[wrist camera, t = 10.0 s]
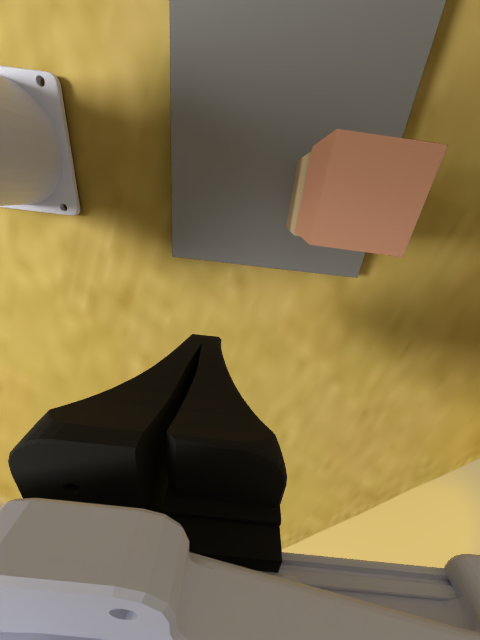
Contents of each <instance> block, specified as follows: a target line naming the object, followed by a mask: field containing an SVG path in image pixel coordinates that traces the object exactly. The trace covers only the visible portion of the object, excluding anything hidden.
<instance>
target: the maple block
mask: <svg viewBox="0 0 480 640" xmlns="http://www.w3.org/2000/svg"><path fill="white" fill-rule="evenodd" d="M310 157H311V152H309V153H308V154H306V155H305V156H303V157H302V158H300V159H299V160H298V161H297V166H296V172H295V178H294V183H293V189H292V195H291V200H290V206H289V212H288V217H287V223H286V228H287V229H288V230H289V231H290V232H291V233H292V234H293V235H294V236H299V235H298V234H297V233H296V232H295V229H296V224H297V219H298V214H299V209H300V205H301V200H302V195H303V190H304V186H305V181H306V176H307V171H308V166H309V162H310Z"/></svg>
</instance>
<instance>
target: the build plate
mask: <svg viewBox="0 0 480 640" xmlns="http://www.w3.org/2000/svg"><path fill="white" fill-rule="evenodd" d="M445 3H446V0H169V7H170V94H171V182H172V257H180V258H189V259H198V260H206V261H215V262H224V263H233V264H241V265H250V266H259V267H267V268H276V269H285V270H294V271H302V272H311V273H320V274H328V275H337V276H346V277H355V278H357V277H358V274H359V271H360V268H361V265H362V262H363V259H364V255H365V252H360V251H352V250H345V249H338V248H330V247H323V246H315V245H309V244H308V243H307V242H306V241H305V240H304V239H303V238H302V237H300V236H294V235H293V234H292V233H291V232H290V231H289V230H288V229H287V228H286V223H287V217H288V212H289V206H290V200H291V195H292V189H293V183H294V178H295V172H296V166H297V161H298V160H299V159H300V158H302V157H303V156H305V155H306V154H308V153H309V152H312V147H313V146H314V145H315V144H317V143H318V142H319V141H321V140H322V139H324V138H325V137H326V136H328V135H329V134H330V133H332V132H333V131H335V130H336V129H342V130H349V131H356V132H363V133H370V134H377V135H384V136H391V137H398V138H402V137H403V134H404V131H405V127H406V124H407V121H408V118H409V115H410V112H411V109H412V106H413V102H414V99H415V96H416V93H417V90H418V87H419V84H420V81H421V77H422V74H423V71H424V68H425V65H426V62H427V59H428V56H429V52H430V49H431V46H432V43H433V40H434V37H435V34H436V31H437V28H438V24H439V21H440V18H441V15H442V12H443V9H444V6H445Z"/></svg>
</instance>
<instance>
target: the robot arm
mask: <svg viewBox="0 0 480 640" xmlns="http://www.w3.org/2000/svg"><path fill="white" fill-rule="evenodd" d="M42 78H44V81H45V85H44V86H43V87H42V85H41V79H42ZM64 204H65V205H66V206H67V211H66V210H65V209H64V207H63V205H64ZM0 207H3V208H11V209H20V210H28V211H37V212H46V213H54V214H63V215H71V216H73V215H78V214H79V213H80V204H79V197H78V191H77V184H76V178H75V172H74V165H73V159H72V153H71V146H70V140H69V134H68V127H67V121H66V115H65V108H64V102H63V96H62V89H61V84H60V81H59V79H58V78H57V77H56V76H55V75H54V74H52V73H50V72H47V71H39V70H31V69H23V68H15V67H7V66H0ZM8 462H9V467H10V471H11V474H12V476H13V478H14V480H15V482H16V484H17V487H18V489H19V491H20V493H21V495H22V497H23V499H14V500H11V501H8V502H6V503H5V504H3V505H2V506H0V640H480V555H472V554H461V555H457V556H454V557H453V558H451V559H450V560H449V561H448V562H447V564H446V565H445V568H434V567H424V566H414V565H404V564H394V563H384V562H374V561H363V560H354V559H343V558H334V557H324V556H314V555H304V554H294V553H284V552H281V540H280V528H279V526H280V524H281V513H280V504H281V500H282V497H283V494H284V490H285V487H286V481H287V474H286V468H285V463H284V459H283V456H282V452H281V449H280V446H279V444H278V441H277V438H276V436H275V434H274V433H273V432H272V431H271V430H270V429H269V428H268V427H267V426H266V425H265V424H264V423H263V422H262V421H260V419H259V418H258V417H257V416H256V415H255V414H254V412H253V411H252V410H251V409H250V407H249V406H248V405H247V403H246V402H245V401H244V399H243V398H242V396H241V395H240V393H239V392H238V390H237V388H236V386H235V385H234V383H233V381H232V379H231V377H230V374H229V372H228V370H227V367H226V364H225V361H224V358H223V355H222V350H221V339H220V338H219V337H214V336H205V335H196V334H192V335H191V336H190V337H189V338H187V339H186V340H185V341H184V342H183V343H182V344H181V345H180V346H179V347H178V348H176V349H175V350H174V351H173V352H172V353H170V354H169V355H168V356H167V357H165V358H164V359H163V360H161V361H160V362H159V363H157V364H156V365H154V366H153V367H151V368H150V369H148V370H147V371H145V372H143V373H142V374H140V375H138V376H136V377H135V378H133V379H131V380H129V381H126V382H124V383H122V384H120V385H118V386H116V387H114V388H112V389H109V390H107V391H105V392H102V393H100V394H97V395H94V396H92V397H89V398H86V399H83V400H80V401H77V402H74V403H71V404H67V405H64V406H61V407H58V408H54V409H50V410H49V411H48V412H47V413H46V414H45V415H44V416H43V417H42V418H41V419H40V420H39V421H38V422H37V423H36V424H35V425H34V427H33V428H32V429H31V430H30V431H29V432H28V433H27V434H26V435H25V436H24V438H23V439H22V440H21V441H20V442H19V443H18V444H17V445H16V446H15V448H14V449H13V450H12V451H11V452H10V455H9V460H8Z"/></svg>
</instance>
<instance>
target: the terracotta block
mask: <svg viewBox="0 0 480 640" xmlns="http://www.w3.org/2000/svg"><path fill="white" fill-rule="evenodd" d="M447 147H448V145H446V144H439V143H432V142H425V141H418V140H411V139H405V138H398V137H391V136H384V135H377V134H370V133H363V132H356V131H349V130H342V129H336V130H335V131H333V132H332V133H330V134H329V135H328V136H326V137H325V138H324V139H322V140H321V141H319V142H318V143H317V144H315V145H314V146H313V147H312V152H311V157H310V162H309V166H308V171H307V176H306V181H305V186H304V190H303V195H302V200H301V205H300V209H299V214H298V219H297V224H296V229H295V232H296V233H297V234H298V235H299V236H300V237H302V238H303V239H304V240H305V241H306V242H307V243H308V244H309V245H315V246H323V247H330V248H338V249H345V250H352V251H360V252H367V253H375V254H382V255H390V256H397V257H403V255H404V253H405V250H406V248H407V245H408V243H409V240H410V238H411V236H412V233H413V231H414V228H415V226H416V223H417V221H418V218H419V216H420V213H421V211H422V208H423V206H424V203H425V201H426V199H427V196H428V194H429V191H430V189H431V186H432V184H433V181H434V179H435V176H436V174H437V171H438V169H439V166H440V164H441V162H442V159H443V157H444V154H445V152H446V149H447Z"/></svg>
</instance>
